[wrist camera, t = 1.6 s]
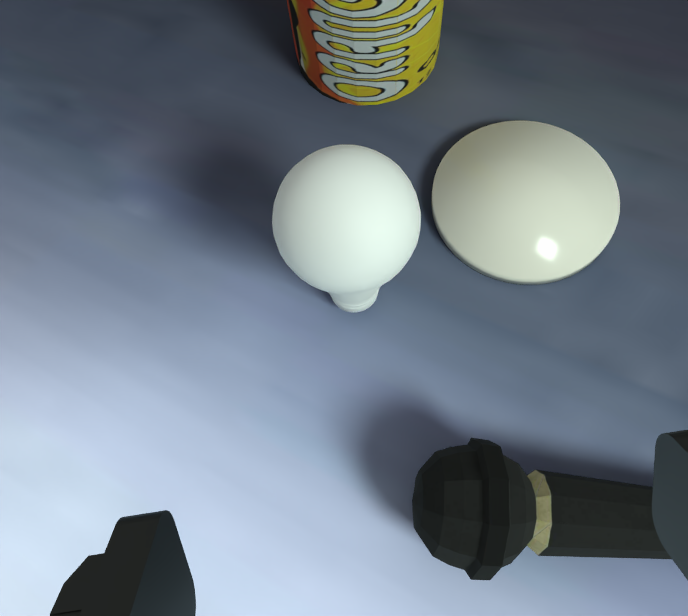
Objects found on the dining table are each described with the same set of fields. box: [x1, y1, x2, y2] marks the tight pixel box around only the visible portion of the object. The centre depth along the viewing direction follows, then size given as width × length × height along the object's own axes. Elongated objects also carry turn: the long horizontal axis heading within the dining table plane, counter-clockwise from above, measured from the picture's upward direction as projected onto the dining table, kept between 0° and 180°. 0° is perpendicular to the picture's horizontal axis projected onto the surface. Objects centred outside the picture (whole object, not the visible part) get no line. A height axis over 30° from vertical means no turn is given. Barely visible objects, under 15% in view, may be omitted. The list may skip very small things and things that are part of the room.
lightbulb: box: [272, 145, 421, 312], centre depth 28 cm, size 6×6×11 cm
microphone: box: [412, 438, 672, 580], centre depth 27 cm, size 6×6×20 cm
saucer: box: [431, 121, 620, 285], centre depth 34 cm, size 10×10×1 cm
